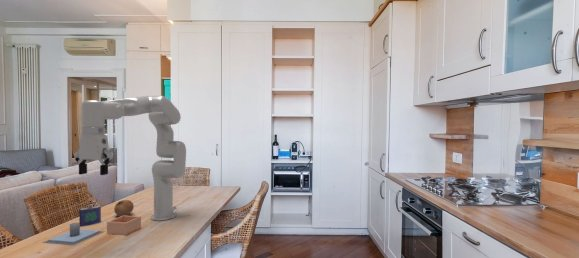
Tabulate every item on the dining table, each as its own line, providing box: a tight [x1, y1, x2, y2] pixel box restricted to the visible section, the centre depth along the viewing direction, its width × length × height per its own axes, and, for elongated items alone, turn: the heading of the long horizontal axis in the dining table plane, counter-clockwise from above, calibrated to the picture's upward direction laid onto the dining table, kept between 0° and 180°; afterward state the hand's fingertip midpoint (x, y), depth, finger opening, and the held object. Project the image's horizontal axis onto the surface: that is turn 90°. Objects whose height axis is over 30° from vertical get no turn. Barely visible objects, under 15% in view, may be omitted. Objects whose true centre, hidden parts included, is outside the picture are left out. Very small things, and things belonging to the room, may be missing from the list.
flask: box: [78, 204, 102, 228], centre depth 145 cm, size 9×3×11 cm, turn 138°
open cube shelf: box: [106, 215, 142, 237], centre depth 135 cm, size 10×10×6 cm
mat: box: [42, 230, 104, 246], centre depth 128 cm, size 16×16×1 cm
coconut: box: [113, 199, 135, 217], centre depth 160 cm, size 10×9×10 cm
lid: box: [48, 222, 100, 244], centre depth 128 cm, size 13×13×6 cm
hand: (93, 174), depth 113 cm, fingers open, 9 cm apart
